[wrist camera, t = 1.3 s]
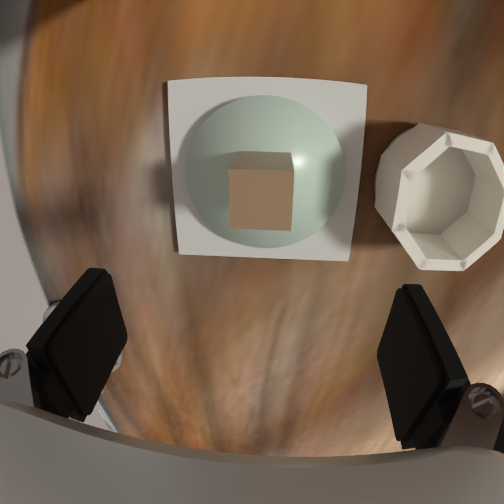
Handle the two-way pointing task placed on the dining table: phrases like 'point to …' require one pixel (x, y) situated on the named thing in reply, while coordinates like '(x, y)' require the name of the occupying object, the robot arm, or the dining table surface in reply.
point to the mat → (297, 89)
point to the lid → (265, 171)
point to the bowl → (441, 195)
